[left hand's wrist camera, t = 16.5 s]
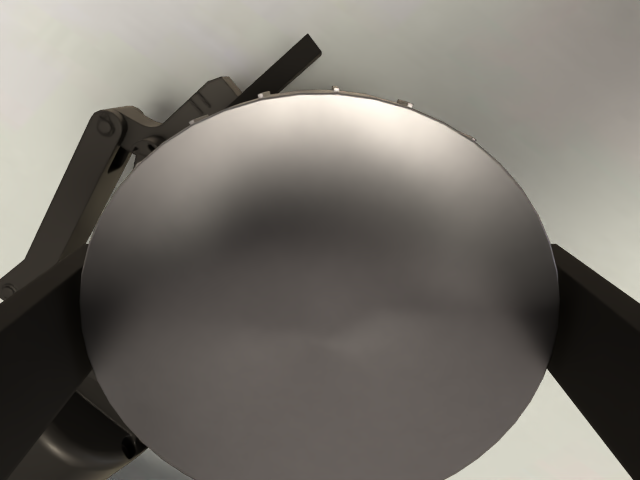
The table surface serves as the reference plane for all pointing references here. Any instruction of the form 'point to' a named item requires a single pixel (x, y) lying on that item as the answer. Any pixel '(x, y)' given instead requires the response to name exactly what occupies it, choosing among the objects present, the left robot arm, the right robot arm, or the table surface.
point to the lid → (319, 294)
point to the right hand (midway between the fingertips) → (400, 157)
